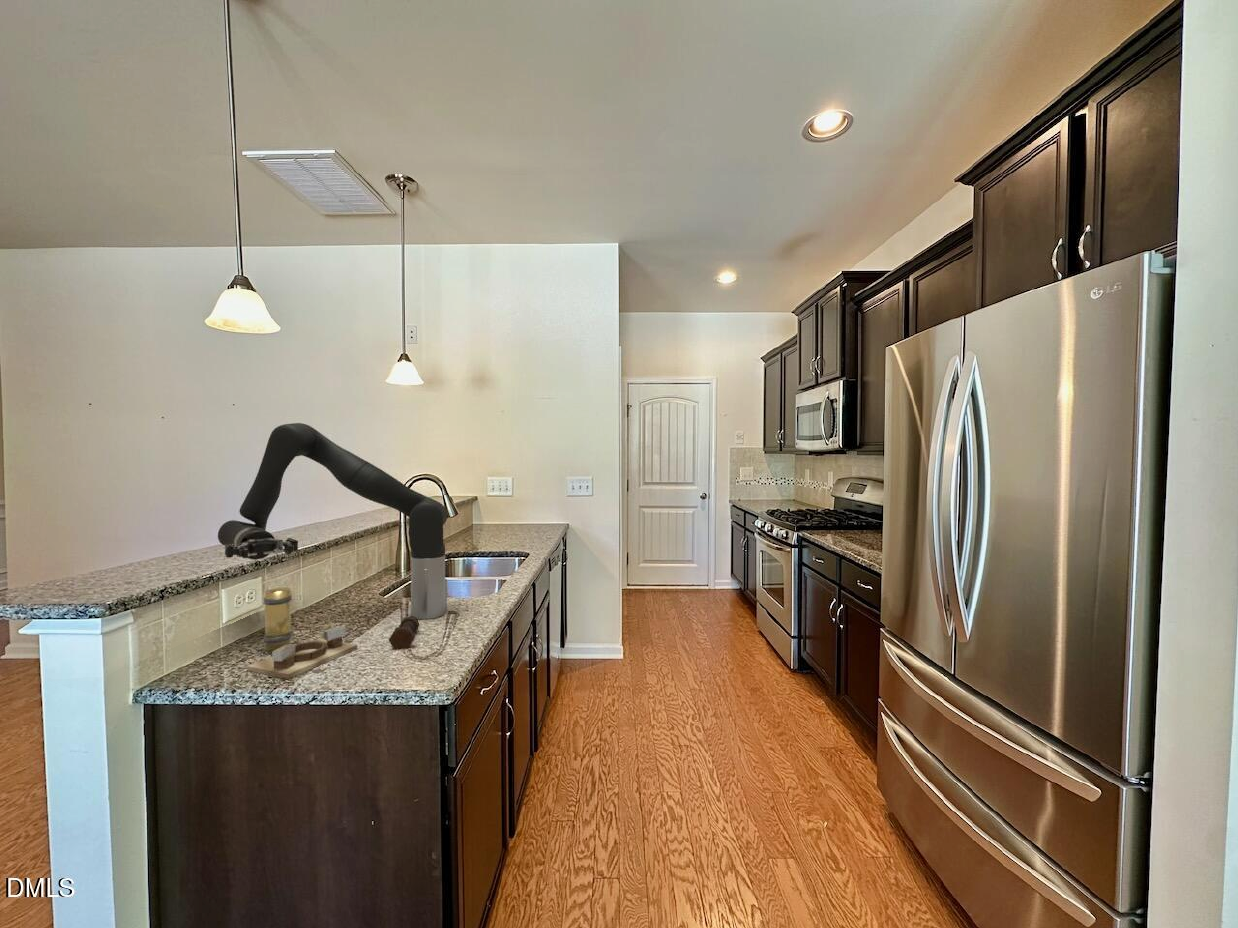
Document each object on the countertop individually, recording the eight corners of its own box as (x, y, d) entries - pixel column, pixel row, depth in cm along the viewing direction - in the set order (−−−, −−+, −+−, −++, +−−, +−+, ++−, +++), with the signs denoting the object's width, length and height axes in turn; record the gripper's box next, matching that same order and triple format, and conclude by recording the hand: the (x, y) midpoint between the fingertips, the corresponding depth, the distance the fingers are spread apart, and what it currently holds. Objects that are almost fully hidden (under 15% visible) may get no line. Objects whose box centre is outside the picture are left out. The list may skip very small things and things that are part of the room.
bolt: (414, 634, 130) (404, 654, 115) (397, 626, 129) (384, 645, 114) (426, 615, 131) (417, 632, 116) (409, 607, 130) (398, 623, 115)
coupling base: (320, 642, 119) (320, 630, 119) (357, 648, 115) (357, 636, 115) (247, 670, 103) (247, 656, 103) (287, 679, 99) (287, 664, 99)
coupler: (281, 643, 118) (281, 586, 118) (297, 646, 116) (297, 588, 116) (258, 651, 113) (258, 592, 113) (274, 654, 111) (274, 594, 111)
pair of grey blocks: (338, 633, 117) (338, 625, 117) (347, 635, 116) (347, 626, 116) (268, 660, 101) (268, 650, 101) (278, 662, 100) (278, 652, 100)
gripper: (219, 530, 120) (230, 538, 109) (287, 525, 131) (303, 533, 119) (218, 560, 120) (230, 571, 109) (286, 553, 131) (303, 563, 119)
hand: (268, 551), depth 114 cm, fingers open, 8 cm apart
